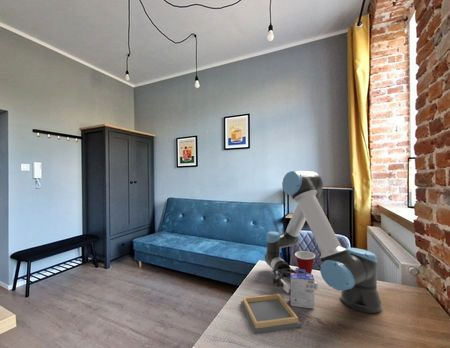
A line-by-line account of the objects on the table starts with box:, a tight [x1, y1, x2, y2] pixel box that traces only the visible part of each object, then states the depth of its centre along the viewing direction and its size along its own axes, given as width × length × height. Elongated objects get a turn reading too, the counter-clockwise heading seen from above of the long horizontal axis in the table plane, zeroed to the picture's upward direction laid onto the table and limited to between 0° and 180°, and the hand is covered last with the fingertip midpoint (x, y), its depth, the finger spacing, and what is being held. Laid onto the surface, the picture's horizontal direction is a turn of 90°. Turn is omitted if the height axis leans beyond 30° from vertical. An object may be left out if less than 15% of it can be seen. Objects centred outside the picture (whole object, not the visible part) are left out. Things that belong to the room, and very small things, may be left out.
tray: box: [240, 293, 302, 334], centre depth 88 cm, size 18×18×3 cm
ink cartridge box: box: [289, 269, 315, 309], centre depth 95 cm, size 10×6×14 cm, turn 78°
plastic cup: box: [294, 250, 316, 274], centre depth 122 cm, size 11×11×12 cm
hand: (302, 288), depth 94 cm, fingers open, 13 cm apart
